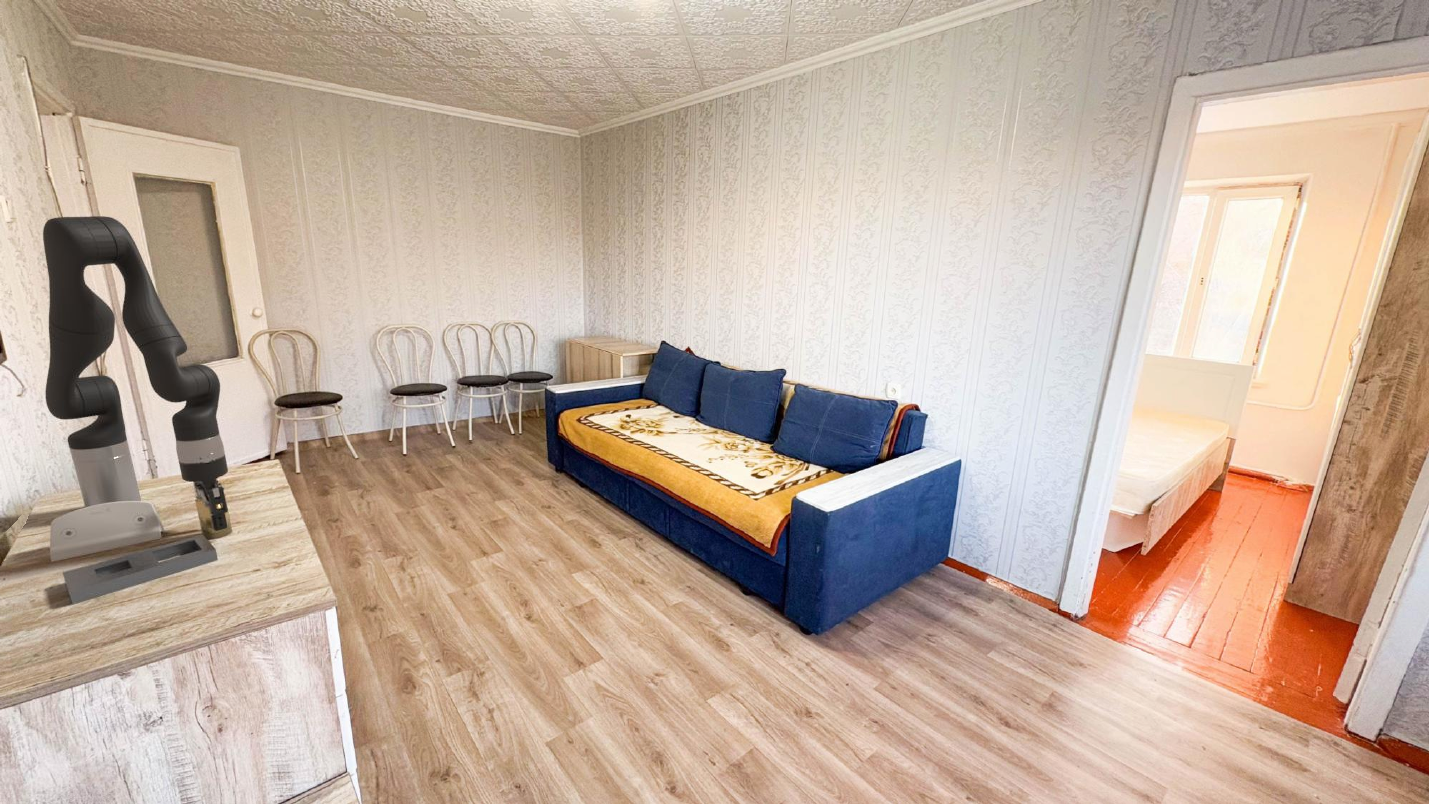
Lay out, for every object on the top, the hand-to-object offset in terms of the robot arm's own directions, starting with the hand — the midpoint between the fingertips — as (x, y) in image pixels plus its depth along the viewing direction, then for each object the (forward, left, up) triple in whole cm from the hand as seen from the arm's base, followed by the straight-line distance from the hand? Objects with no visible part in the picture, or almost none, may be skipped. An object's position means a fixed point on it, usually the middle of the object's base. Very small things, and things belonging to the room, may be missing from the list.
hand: (215, 523), depth 123 cm
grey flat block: (+9, -13, -3) cm, 16 cm away
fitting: (0, 0, -3) cm, 3 cm away
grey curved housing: (-12, -15, -3) cm, 20 cm away
